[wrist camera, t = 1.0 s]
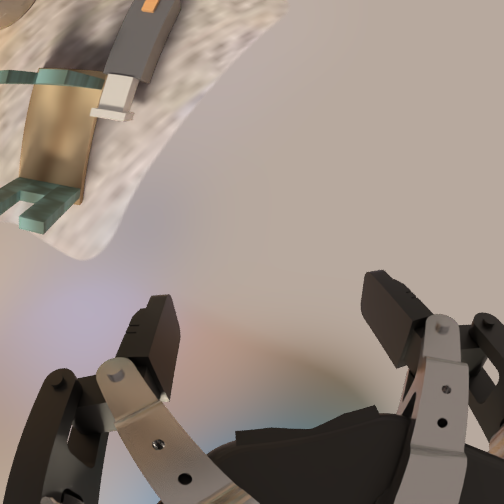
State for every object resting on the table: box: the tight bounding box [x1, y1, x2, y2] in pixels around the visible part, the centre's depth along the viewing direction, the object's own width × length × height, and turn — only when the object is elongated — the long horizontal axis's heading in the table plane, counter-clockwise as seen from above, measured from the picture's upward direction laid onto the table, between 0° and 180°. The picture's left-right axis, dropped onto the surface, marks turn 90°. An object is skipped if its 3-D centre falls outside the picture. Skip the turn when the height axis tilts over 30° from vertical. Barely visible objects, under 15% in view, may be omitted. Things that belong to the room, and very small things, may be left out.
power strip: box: [90, 0, 181, 122], centre depth 19 cm, size 4×19×6 cm, turn 160°
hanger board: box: [0, 68, 108, 235], centre depth 19 cm, size 10×16×11 cm, turn 160°
